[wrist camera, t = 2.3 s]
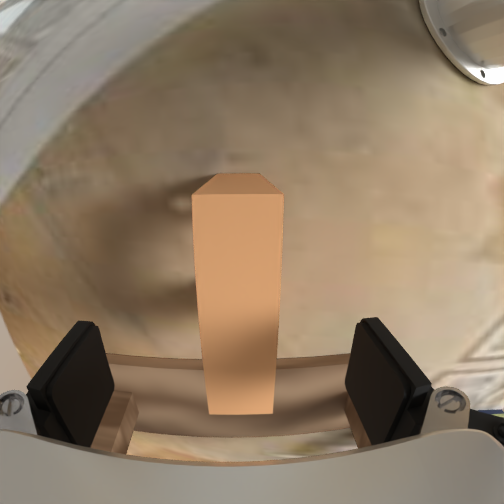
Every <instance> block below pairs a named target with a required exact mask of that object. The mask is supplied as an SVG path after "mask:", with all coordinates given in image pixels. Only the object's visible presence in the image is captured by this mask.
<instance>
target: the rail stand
mask: <svg viewBox="0 0 504 504" xmlns="http://www.w3.org/2000/svg"><path fill="white" fill-rule="evenodd" d="M350 354H351V353H350ZM350 354H341V355H330V356H318V357H303V358H286V359H277V360H276V375H275V389H274V403H273V414H246V415H217V414H209V409H208V402H207V394H206V386H205V377H204V368H203V360H196V359H170V358H153V357H139V356H127V355H116V354H107V353H106V357H107V360H108V363H109V367H110V370H111V373H112V376H113V379H114V384H115V388H114V392H113V394H112V396H111V399H110V401H109V403H108V406H107V408H106V410H105V413H104V415H103V418H102V420H101V423H100V425H99V427H98V430H97V432H96V435H95V437H94V440H93V442H92V445H91V448H93V449H98V450H103V451H108V452H114V453H120V454H126V453H127V450H128V446H129V443H130V440H131V437H132V433H133V430H134V431H142V432H149V433H158V434H169V435H181V436H197V437H268V436H284V435H297V434H307V433H316V432H324V431H331V430H338V429H345V428H351V430H352V433H353V436H354V438H355V441H356V444H357V446H358V448H363V447H368V446H372V445H371V443H370V440H369V438H368V436H367V434H366V431H365V429H364V427H363V425H362V423H361V420H360V418H359V416H358V414H357V412H356V409H355V407H354V405H353V403H352V401H351V399H350V396H349V394H348V392H347V390H346V387H345V377H346V372H347V368H348V363H349V359H350Z"/></svg>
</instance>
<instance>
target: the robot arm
mask: <svg viewBox="0 0 504 504" xmlns="http://www.w3.org/2000/svg"><path fill="white" fill-rule="evenodd" d="M419 3H420V8H421V12H422V15H423V18H424V21H425V23H426V25H427V27H428V29H429V31H430V33H431V35H432V36H433V38H434V40H435V41H436V43H437V45H438V46H439V47H440V49H441V50H442V51H443V53H444V54H445V55H446V57H447V58H448V59H449V60H450V61H451V62H452V63H453V64H454V65H455V66H456V67H457V68H458V69H459V70H460V71H461V72H462V73H463V74H465V75H466V76H468V77H469V78H470V79H472V80H474V81H476V82H478V83H480V84H484V85H497V84H502V83H503V82H504V0H419ZM431 384H432V383H431V382H430V381H429V379H428V378H427V377H426V376H425V374H424V373H423V372H422V371H421V369H420V368H419V367H418V366H417V364H416V363H415V362H414V361H413V359H412V358H411V357H410V356H409V354H408V353H407V352H406V351H405V350H404V348H403V347H402V346H401V345H400V343H399V342H398V341H397V340H396V339H395V337H394V336H393V335H392V334H391V333H390V331H389V330H388V329H387V328H386V327H385V325H384V324H383V323H382V322H381V321H380V320H379V318H377V317H374V318H364V319H362V320H361V322H360V323H357V325H356V328H355V334H354V339H353V344H352V349H351V354H350V359H349V363H348V368H347V372H346V377H345V387H346V390H347V392H348V394H349V396H350V399H351V401H352V403H353V405H354V407H355V409H356V412H357V414H358V416H359V418H360V420H361V423H362V425H363V427H364V429H365V431H366V434H367V436H368V438H369V440H370V443H371V445H372V446H368V447H363V448H358V449H353V450H348V451H343V452H337V453H331V454H325V455H318V456H311V457H302V458H293V459H283V460H270V461H252V462H198V461H180V460H168V459H157V458H148V457H140V456H133V455H126V454H120V453H114V452H108V451H103V450H98V449H93V448H91V445H92V442H93V440H94V437H95V435H96V432H97V430H98V427H99V425H100V423H101V420H102V418H103V415H104V413H105V410H106V408H107V406H108V403H109V401H110V399H111V396H112V394H113V392H114V388H115V384H114V379H113V376H112V373H111V370H110V367H109V363H108V360H107V357H106V353H105V349H104V346H103V342H102V338H101V334H100V330H99V328H98V326H95V324H94V323H93V322H90V321H78V322H77V323H76V324H75V325H74V326H73V327H72V329H71V330H70V331H69V332H68V333H67V335H66V336H65V337H64V338H63V340H62V341H61V342H60V343H59V345H58V346H57V347H56V348H55V350H54V351H53V352H52V353H51V355H50V356H49V357H48V359H47V360H46V361H45V362H44V364H43V365H42V366H41V368H40V369H39V370H38V372H37V373H36V374H35V376H34V377H33V378H32V380H31V381H30V383H29V384H28V385H27V389H28V393H27V394H26V395H25V394H24V393H23V392H21V391H17V390H11V391H7V392H5V393H3V394H1V395H0V504H504V418H503V417H499V416H495V415H491V414H487V413H483V412H480V411H476V410H472V409H470V401H469V399H468V397H467V395H466V394H465V393H464V392H462V391H461V390H459V389H456V388H454V387H440V388H438V389H436V390H435V391H434V389H433V388H432V387H431Z"/></svg>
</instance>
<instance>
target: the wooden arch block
mask: <svg viewBox="0 0 504 504" xmlns="http://www.w3.org/2000/svg"><path fill="white" fill-rule="evenodd" d="M283 209H284V194H283V193H282V192H281V191H279V190H278V189H277V188H276V187H275V186H274V185H272V184H271V183H270V182H269V181H268V180H267V179H265V178H264V177H263V176H262V175H261V174H251V173H241V174H216V175H215V176H214V177H213V178H211V179H210V180H209V181H208V182H207V183H205V184H204V185H203V186H202V187H200V188H199V189H198V190H197V191H196V192H194V193H193V194H192V221H193V243H194V261H195V277H196V292H197V305H198V317H199V328H200V339H201V349H202V359H203V368H204V377H205V386H206V394H207V402H208V409H209V414H217V415H246V414H273V403H274V389H275V375H276V360H277V345H278V328H279V309H280V289H281V267H282V241H283Z"/></svg>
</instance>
